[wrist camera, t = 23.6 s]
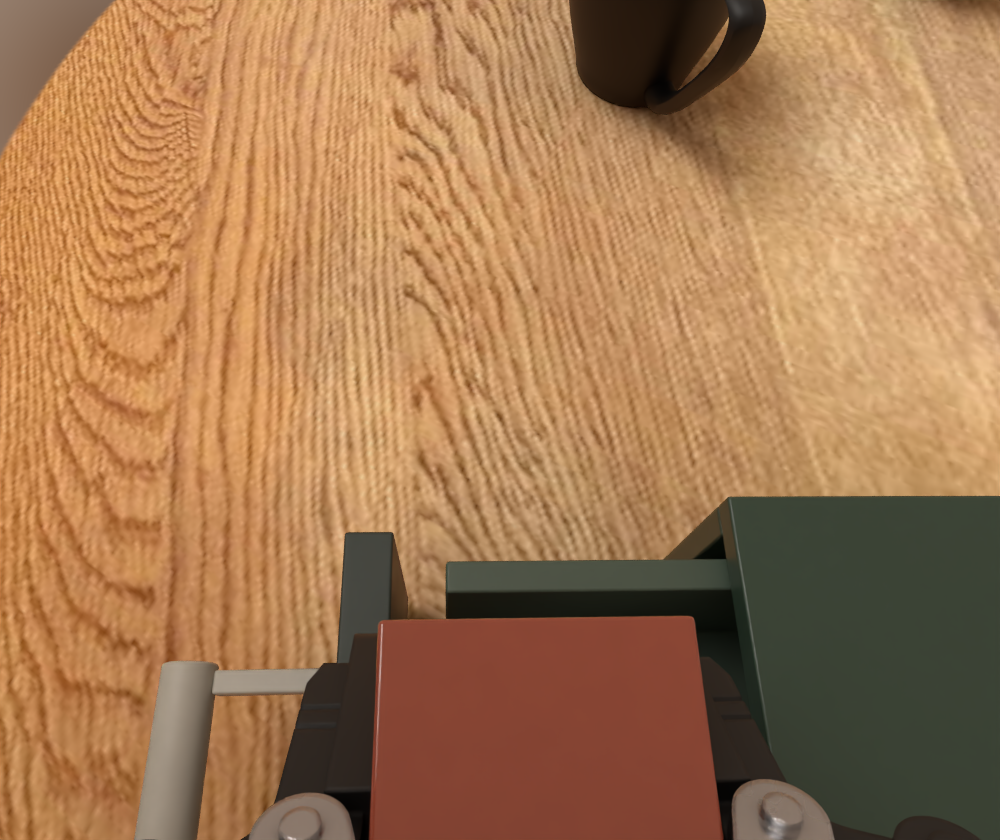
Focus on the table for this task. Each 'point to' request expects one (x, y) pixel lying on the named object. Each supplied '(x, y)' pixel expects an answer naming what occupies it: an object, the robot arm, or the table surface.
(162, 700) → the drawer
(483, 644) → the block
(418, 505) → the table surface
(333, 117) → the table surface
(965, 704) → the cabinet
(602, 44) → the mug
